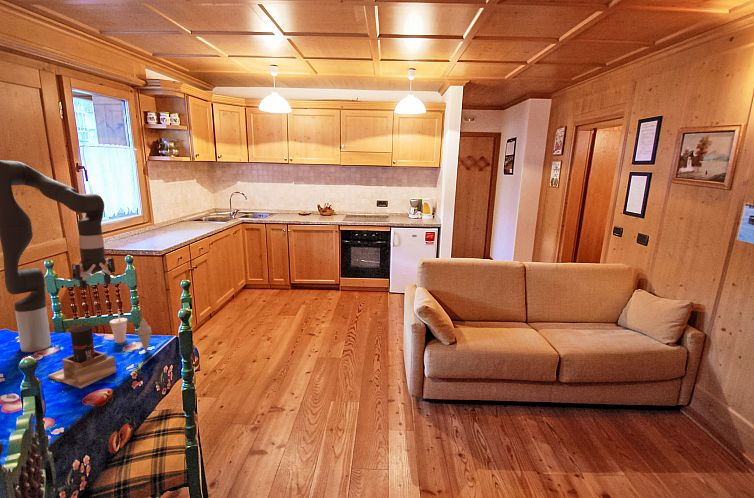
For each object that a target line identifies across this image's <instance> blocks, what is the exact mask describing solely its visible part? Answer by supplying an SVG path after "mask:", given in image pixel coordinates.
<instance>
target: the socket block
mask: <svg viewBox="0 0 754 498" xmlns="http://www.w3.org/2000/svg"><path fill="white" fill-rule="evenodd" d="M94 352H95V358H92V359H90V360H87V361H85V362H82V363H77V362H74V357H73V355H70V356H67V357H65V358H63V359H62V360H61V362H62V369H63V370H64V377H67V378H70V379H73V380H76V376H75V371H76V370H79V369H81V368H83V367H86V366H88V365H90V364H93V363H95V362H98V361H100V360H102V359H105V358H107V357H108V356H107V353H105V352H102V351H98V350H95V349H94Z"/></svg>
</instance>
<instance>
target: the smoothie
mask: <svg viewBox="0 0 754 498" xmlns="http://www.w3.org/2000/svg"><path fill="white" fill-rule="evenodd" d="M120 312H121V311H120V310H118V311H117V314H118V315H117V316H118V317H117V318H114V319H111V320H110V321H109V325H110V328H111V330H112V331H111V332H112V335H113V339H114V342H115V343H116V344H122V343H125V342H126V340H127V339H126V338H127V326H128V324H127V323H128V318H126V317H121V314H120Z"/></svg>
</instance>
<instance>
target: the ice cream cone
mask: <svg viewBox="0 0 754 498" xmlns="http://www.w3.org/2000/svg"><path fill="white" fill-rule="evenodd" d="M136 332H137V336H138V338H139V340H140V342H141V344H142V347H143V349H144V351H145V352H148V349H149V345H150V341H151V336H152V333H153V331H152V328H151V326H150V325H149V324H148V322H147V321H146V320H145V318H144V317H142V320H141V321H140V323H139V327H137V331H136Z"/></svg>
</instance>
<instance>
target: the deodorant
mask: <svg viewBox="0 0 754 498" xmlns="http://www.w3.org/2000/svg"><path fill="white" fill-rule="evenodd" d="M93 334H94V333H93V327H92V326H91V325H80V326H76V327H73V328H71V329H70V340H71V348H72V356H73V357H74V362H77V363H82V362H85V361H87V360H90V359H92V358H95V352H94V350H95V344H94V335H93Z"/></svg>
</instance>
